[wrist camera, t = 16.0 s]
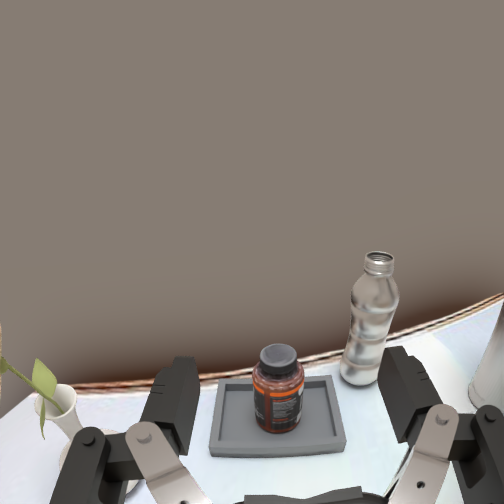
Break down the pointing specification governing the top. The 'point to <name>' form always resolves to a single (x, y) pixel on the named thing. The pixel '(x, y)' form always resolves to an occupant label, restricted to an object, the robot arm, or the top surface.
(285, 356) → the supplement bottle
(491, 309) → the top surface
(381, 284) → the plastic bottle
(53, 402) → the flower in vase
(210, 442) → the gray tray
